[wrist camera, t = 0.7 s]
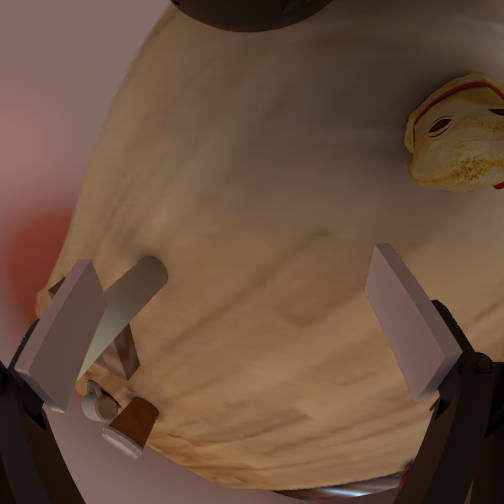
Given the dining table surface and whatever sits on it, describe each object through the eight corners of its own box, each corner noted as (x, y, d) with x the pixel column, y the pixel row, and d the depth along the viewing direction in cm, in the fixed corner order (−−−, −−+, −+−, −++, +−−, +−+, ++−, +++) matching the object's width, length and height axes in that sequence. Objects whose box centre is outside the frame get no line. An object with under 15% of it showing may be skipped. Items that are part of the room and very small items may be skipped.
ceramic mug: (124, 408, 62) (109, 429, 56) (110, 405, 66) (95, 425, 60) (97, 379, 59) (79, 400, 53) (84, 378, 63) (67, 397, 57)
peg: (138, 252, 33) (40, 339, 20) (166, 261, 32) (69, 359, 19) (142, 280, 35) (55, 367, 22) (168, 289, 34) (83, 387, 21)
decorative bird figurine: (422, 452, 37) (419, 499, 29) (406, 480, 44) (401, 517, 36) (407, 453, 38) (403, 501, 30) (394, 481, 45) (389, 518, 37)
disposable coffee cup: (122, 394, 57) (95, 431, 47) (139, 389, 52) (108, 433, 42) (153, 419, 59) (128, 457, 49) (173, 417, 54) (147, 461, 44)
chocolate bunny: (373, 126, 19) (415, 163, 7) (474, 61, 14) (597, 39, 1) (420, 198, 21) (485, 324, 8) (514, 136, 15) (639, 195, 2)
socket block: (64, 277, 42) (48, 290, 39) (124, 306, 39) (108, 323, 36) (83, 335, 49) (71, 348, 46) (139, 365, 46) (127, 381, 43)
